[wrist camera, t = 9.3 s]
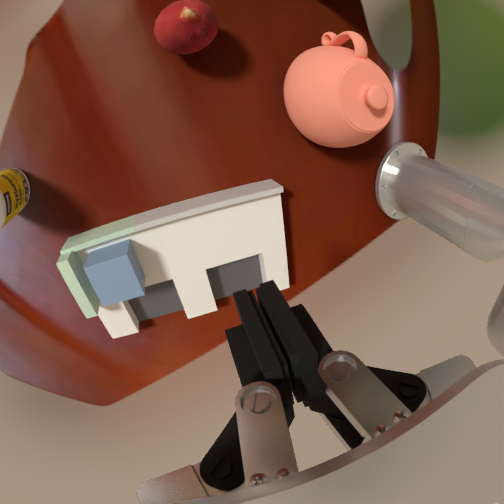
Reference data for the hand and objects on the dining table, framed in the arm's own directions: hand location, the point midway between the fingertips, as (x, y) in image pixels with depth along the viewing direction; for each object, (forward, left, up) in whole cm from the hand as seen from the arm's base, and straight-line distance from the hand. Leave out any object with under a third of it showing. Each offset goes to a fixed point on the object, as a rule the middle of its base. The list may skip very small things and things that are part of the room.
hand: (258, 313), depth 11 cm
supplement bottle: (+21, -6, -22) cm, 31 cm away
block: (+11, +6, -19) cm, 23 cm away
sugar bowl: (-17, -8, -22) cm, 29 cm away
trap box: (+4, +9, -22) cm, 24 cm away
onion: (-2, -16, -22) cm, 27 cm away
